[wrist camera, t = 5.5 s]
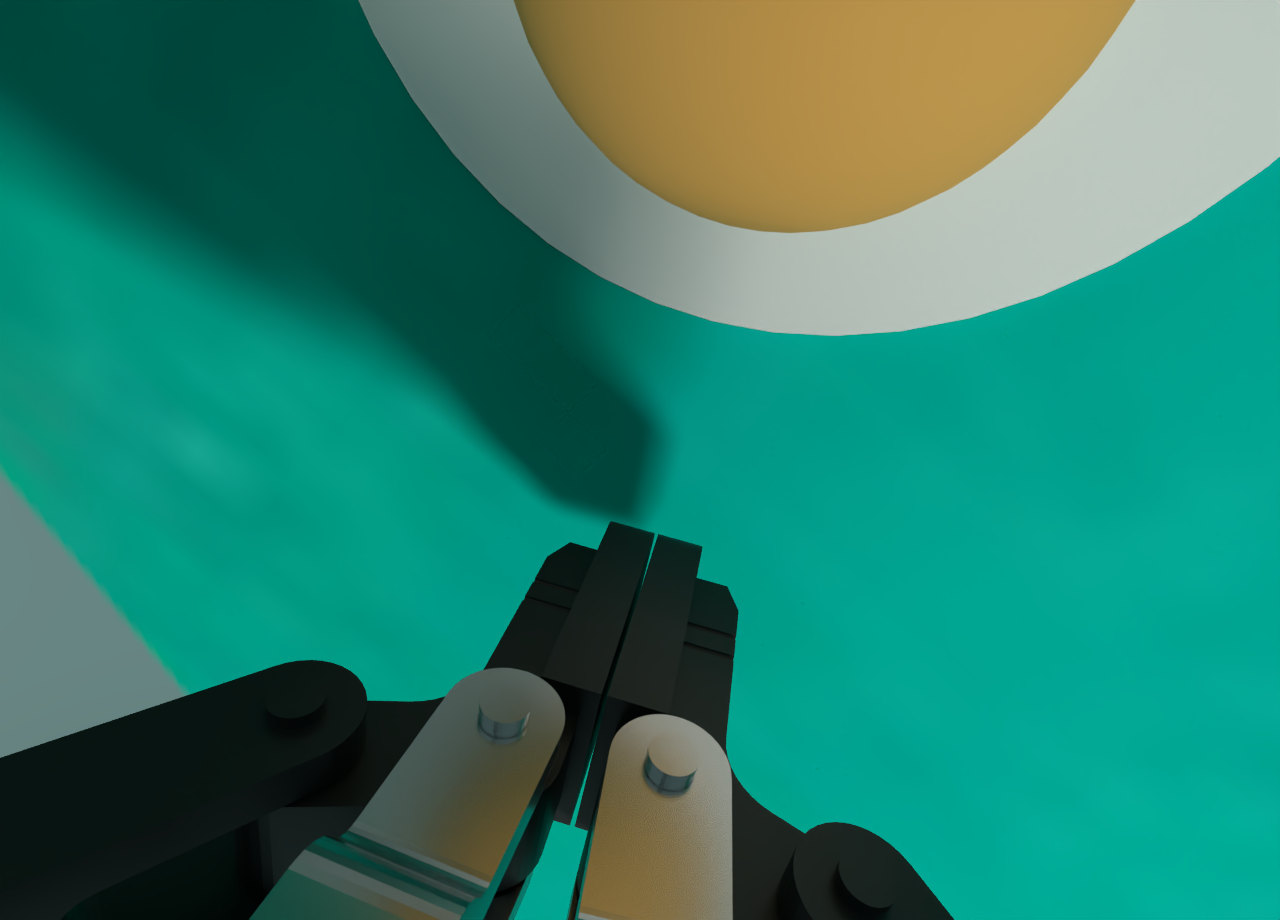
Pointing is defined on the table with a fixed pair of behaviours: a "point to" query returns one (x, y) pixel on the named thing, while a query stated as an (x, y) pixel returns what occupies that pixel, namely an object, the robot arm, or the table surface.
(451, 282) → the table surface
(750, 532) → the table surface
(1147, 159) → the disc
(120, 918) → the robot arm
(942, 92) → the ball
